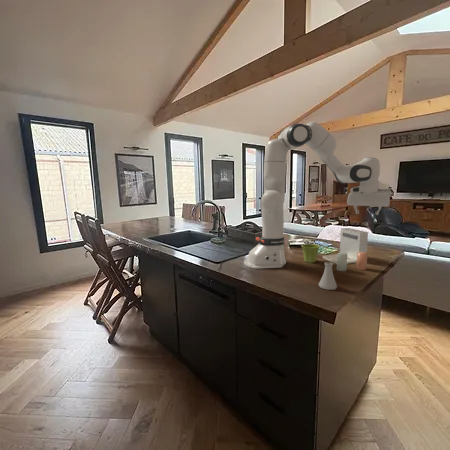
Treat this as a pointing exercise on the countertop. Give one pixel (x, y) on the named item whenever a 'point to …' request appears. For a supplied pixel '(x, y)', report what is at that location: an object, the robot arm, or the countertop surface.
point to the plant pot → (310, 252)
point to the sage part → (341, 261)
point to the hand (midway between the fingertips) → (366, 214)
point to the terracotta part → (361, 260)
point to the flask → (328, 278)
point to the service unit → (350, 244)
